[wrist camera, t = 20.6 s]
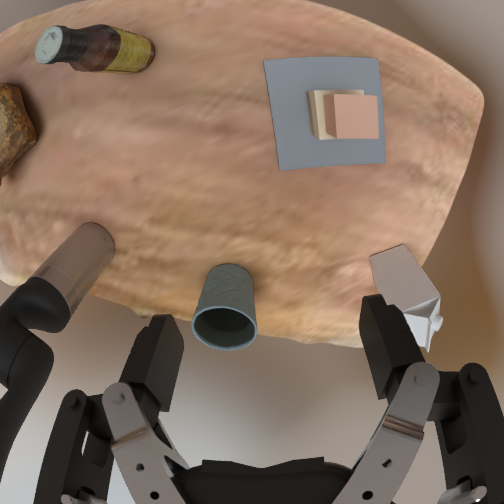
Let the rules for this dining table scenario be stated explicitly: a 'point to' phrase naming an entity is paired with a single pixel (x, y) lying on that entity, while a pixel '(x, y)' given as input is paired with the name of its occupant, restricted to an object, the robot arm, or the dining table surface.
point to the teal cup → (226, 309)
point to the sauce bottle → (95, 49)
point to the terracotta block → (351, 116)
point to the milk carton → (408, 291)
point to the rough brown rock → (13, 128)
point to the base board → (297, 116)
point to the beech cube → (322, 110)
